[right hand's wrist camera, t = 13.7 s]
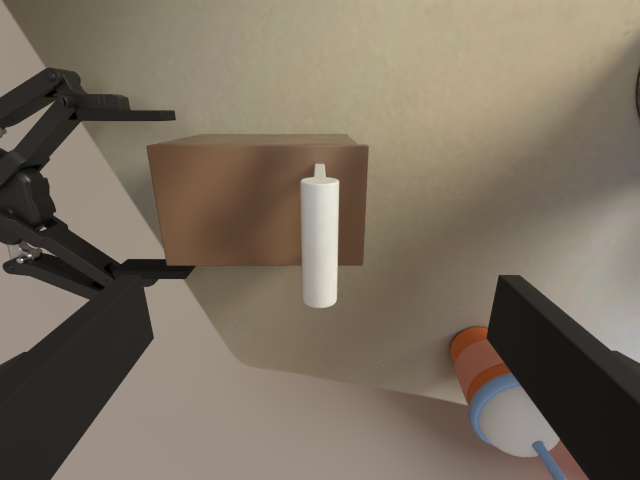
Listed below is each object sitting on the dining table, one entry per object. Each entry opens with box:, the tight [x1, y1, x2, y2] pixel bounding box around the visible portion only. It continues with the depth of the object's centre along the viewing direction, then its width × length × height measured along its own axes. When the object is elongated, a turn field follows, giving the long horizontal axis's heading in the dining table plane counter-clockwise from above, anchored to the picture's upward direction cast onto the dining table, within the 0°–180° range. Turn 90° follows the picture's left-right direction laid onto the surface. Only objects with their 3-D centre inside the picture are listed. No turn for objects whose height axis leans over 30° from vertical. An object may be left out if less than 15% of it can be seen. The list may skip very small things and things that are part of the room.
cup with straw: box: [450, 327, 567, 480], centre depth 35 cm, size 9×9×18 cm
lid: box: [147, 145, 369, 308], centre depth 22 cm, size 15×9×9 cm, turn 90°
